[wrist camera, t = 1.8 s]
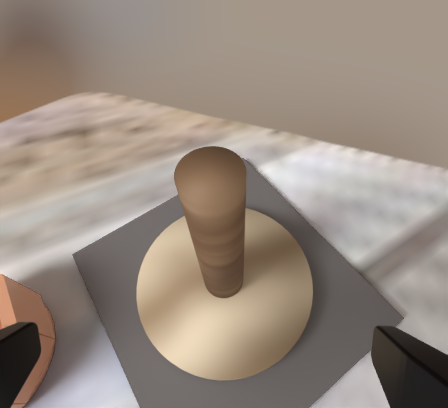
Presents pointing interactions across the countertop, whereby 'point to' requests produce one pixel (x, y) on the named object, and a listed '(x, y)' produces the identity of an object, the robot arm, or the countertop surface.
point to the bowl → (28, 312)
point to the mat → (270, 378)
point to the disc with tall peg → (222, 277)
